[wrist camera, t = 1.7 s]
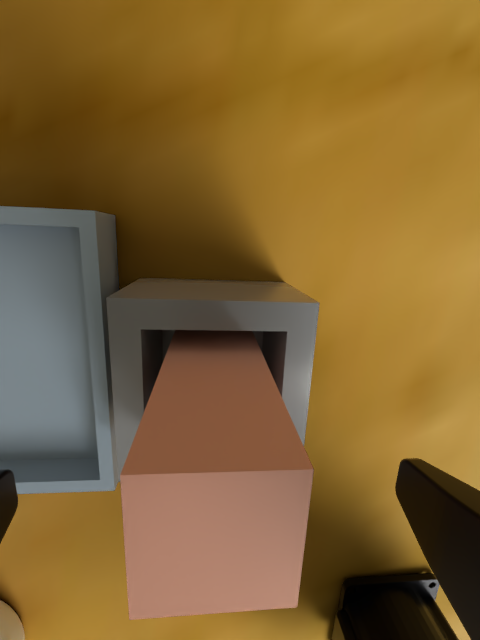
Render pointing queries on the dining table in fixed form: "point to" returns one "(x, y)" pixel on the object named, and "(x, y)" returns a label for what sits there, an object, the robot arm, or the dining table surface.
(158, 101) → the dining table surface
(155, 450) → the peg
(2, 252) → the tray
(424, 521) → the robot arm
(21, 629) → the mug
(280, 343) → the hollow square socket
